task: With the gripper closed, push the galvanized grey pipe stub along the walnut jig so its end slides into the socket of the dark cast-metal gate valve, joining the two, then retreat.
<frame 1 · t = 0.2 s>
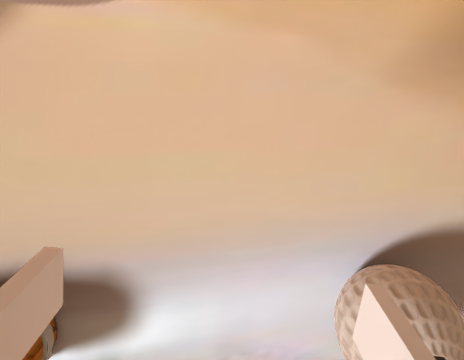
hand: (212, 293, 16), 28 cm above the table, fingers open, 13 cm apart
vase: (371, 289, 48), on the table
mug: (1, 317, 49), on the table
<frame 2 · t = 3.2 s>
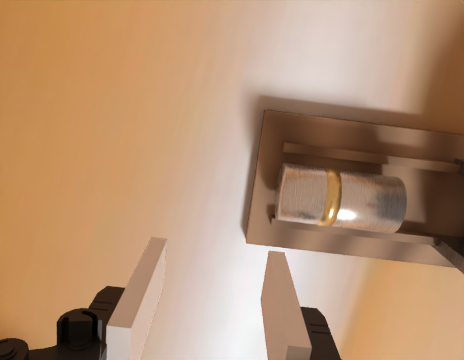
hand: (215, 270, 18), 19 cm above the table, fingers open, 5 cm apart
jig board: (415, 196, 37), on the table
pipe: (336, 198, 33), point 4 cm above the table, slide at 0.0 cm
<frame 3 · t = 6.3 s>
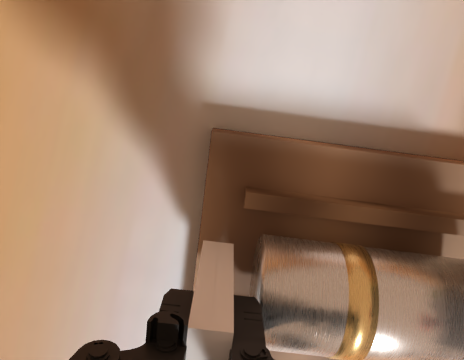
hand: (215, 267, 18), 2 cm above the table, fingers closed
pipe: (363, 301, 17), point 4 cm above the table, slide at 1.0 cm, touching gripper
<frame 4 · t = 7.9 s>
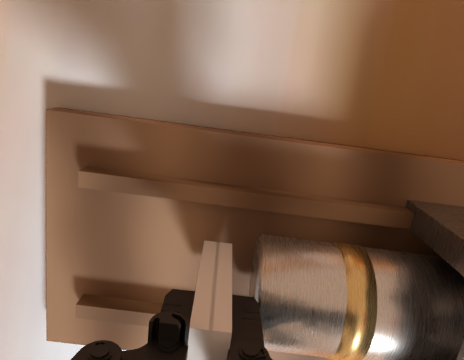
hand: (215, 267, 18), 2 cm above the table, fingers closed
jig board: (342, 261, 21), on the table
gate valve: (456, 276, 21), resting on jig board
pipe: (362, 302, 17), point 4 cm above the table, slide at 8.8 cm, touching gripper
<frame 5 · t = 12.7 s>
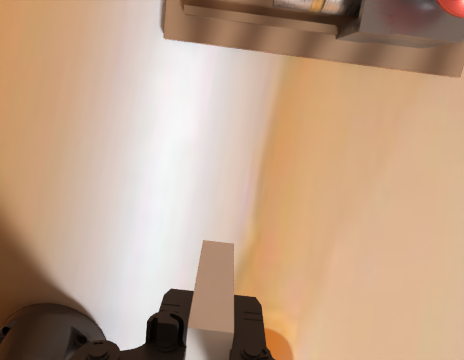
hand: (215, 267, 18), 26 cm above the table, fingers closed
gate valve: (383, 2, 39), resting on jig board
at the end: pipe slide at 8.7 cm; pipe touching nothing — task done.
